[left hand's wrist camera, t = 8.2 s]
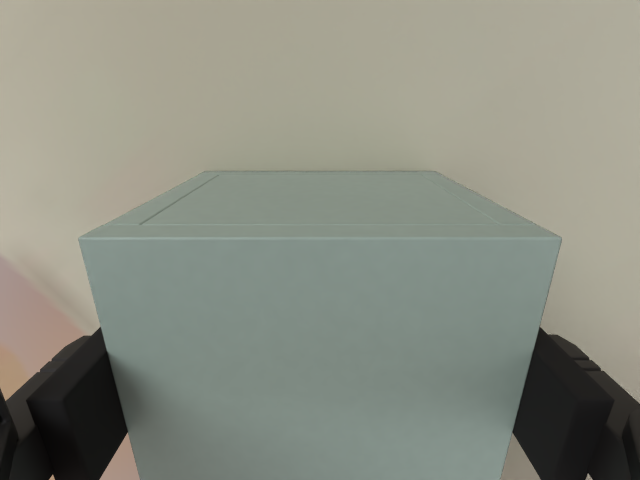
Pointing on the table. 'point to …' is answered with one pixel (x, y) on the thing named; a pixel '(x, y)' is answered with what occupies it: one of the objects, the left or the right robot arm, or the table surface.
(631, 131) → the table surface
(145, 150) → the table surface
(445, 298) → the cabinet
